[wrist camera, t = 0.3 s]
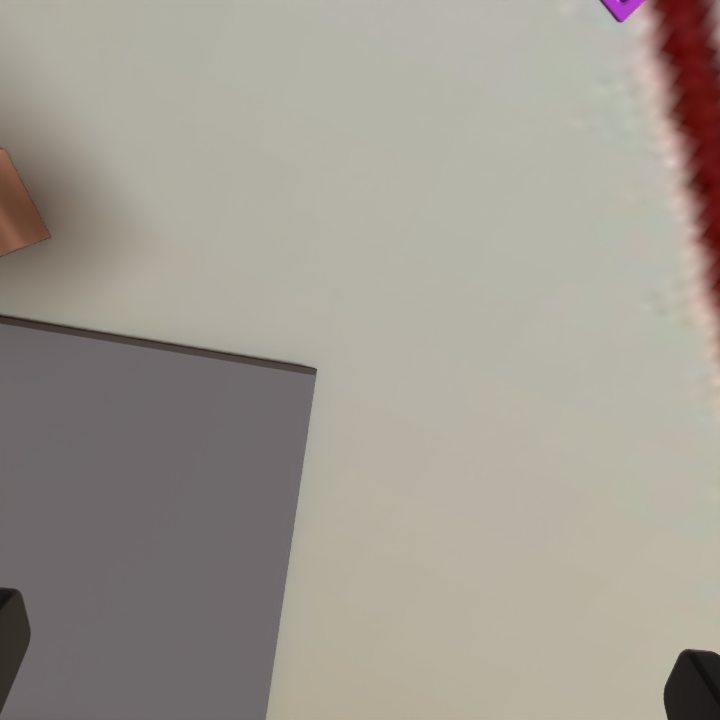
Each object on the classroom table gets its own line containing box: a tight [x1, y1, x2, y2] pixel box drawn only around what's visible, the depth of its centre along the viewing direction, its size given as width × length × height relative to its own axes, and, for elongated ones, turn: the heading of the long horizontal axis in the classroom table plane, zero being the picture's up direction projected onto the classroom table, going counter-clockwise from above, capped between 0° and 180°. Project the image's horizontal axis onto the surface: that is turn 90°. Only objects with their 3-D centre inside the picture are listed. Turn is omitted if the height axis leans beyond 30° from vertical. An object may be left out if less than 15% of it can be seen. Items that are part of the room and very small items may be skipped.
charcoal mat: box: [0, 317, 317, 720], centre depth 25 cm, size 20×16×1 cm
